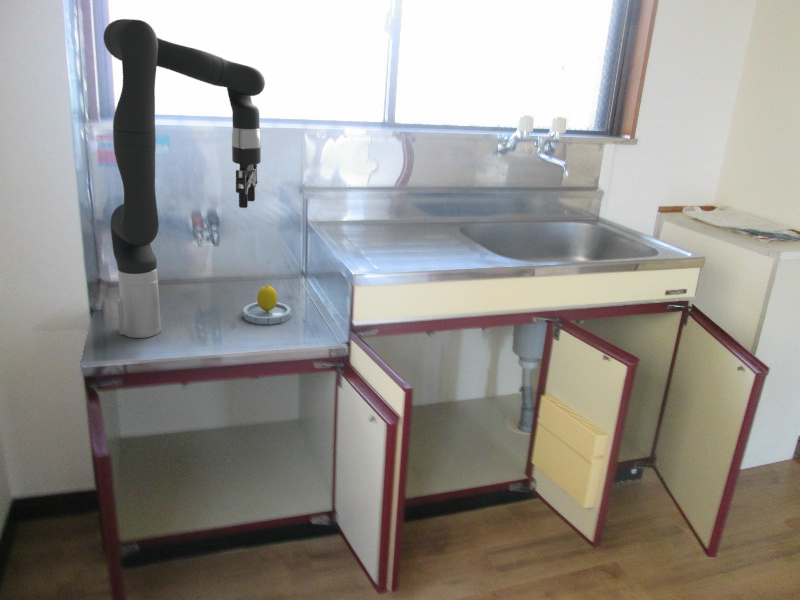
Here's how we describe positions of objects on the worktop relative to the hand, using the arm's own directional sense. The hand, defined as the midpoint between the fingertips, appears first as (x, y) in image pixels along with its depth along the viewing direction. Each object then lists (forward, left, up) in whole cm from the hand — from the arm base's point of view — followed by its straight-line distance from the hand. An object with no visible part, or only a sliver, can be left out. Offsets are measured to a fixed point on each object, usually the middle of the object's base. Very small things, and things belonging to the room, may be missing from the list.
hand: (247, 204), depth 185 cm
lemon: (+7, -7, -29) cm, 31 cm away
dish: (+7, -7, -30) cm, 32 cm away
